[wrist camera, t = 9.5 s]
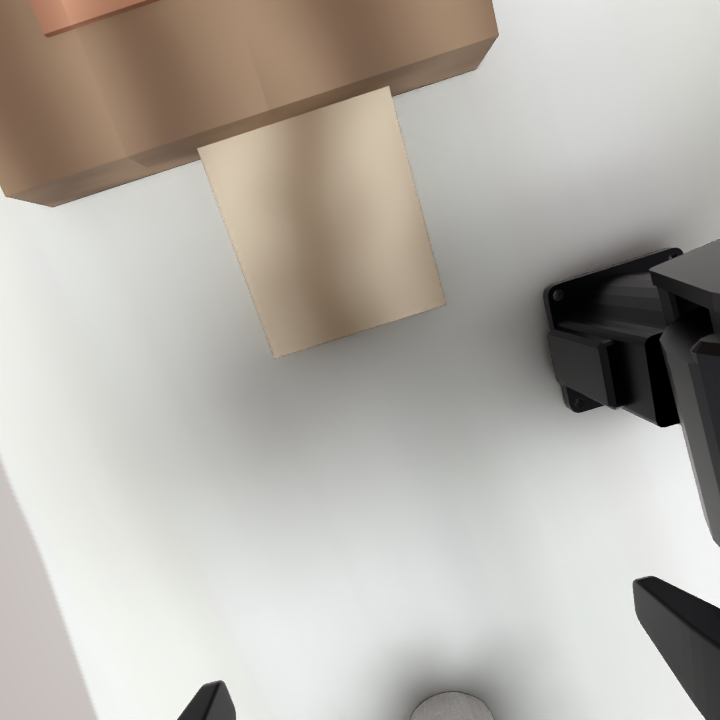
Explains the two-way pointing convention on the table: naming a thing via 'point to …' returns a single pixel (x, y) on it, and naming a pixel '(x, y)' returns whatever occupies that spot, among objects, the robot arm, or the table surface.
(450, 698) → the house plant
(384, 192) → the walnut board
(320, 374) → the table surface
